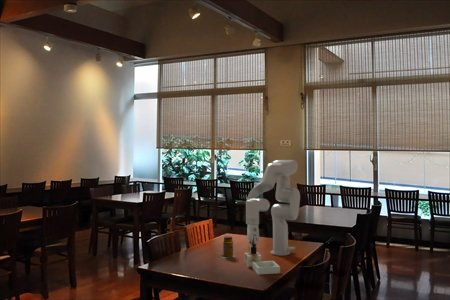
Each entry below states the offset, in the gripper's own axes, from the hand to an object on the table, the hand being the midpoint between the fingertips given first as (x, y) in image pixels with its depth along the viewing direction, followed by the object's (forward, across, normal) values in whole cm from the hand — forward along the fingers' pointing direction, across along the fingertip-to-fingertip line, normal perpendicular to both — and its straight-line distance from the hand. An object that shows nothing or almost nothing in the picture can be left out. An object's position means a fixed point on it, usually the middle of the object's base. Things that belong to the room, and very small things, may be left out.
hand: (252, 252), depth 228 cm
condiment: (+7, +22, +11) cm, 26 cm away
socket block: (+7, 0, 0) cm, 7 cm away
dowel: (+7, 0, 0) cm, 7 cm away
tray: (+7, -13, -4) cm, 15 cm away
